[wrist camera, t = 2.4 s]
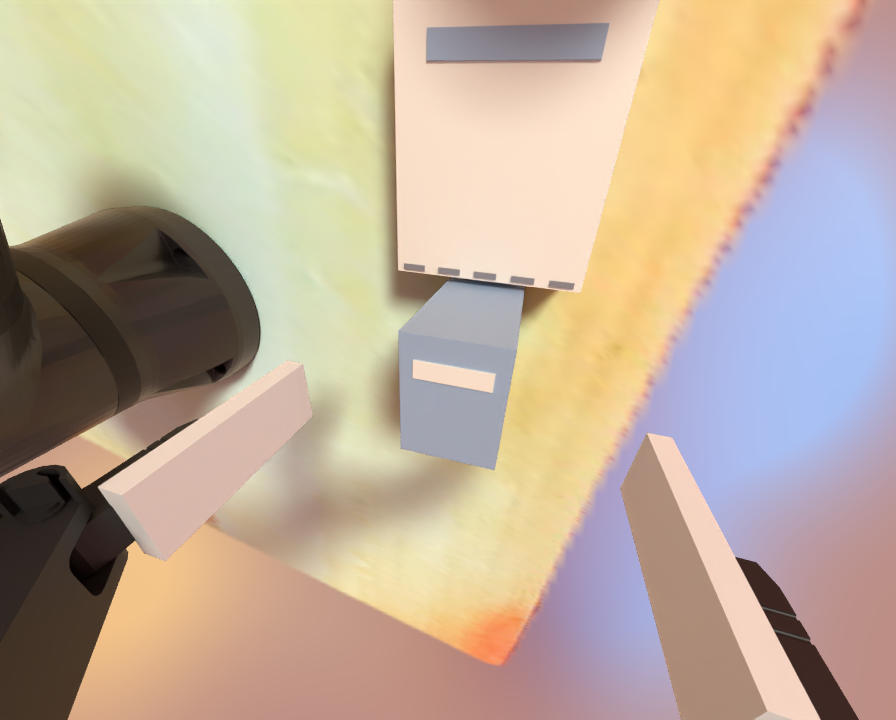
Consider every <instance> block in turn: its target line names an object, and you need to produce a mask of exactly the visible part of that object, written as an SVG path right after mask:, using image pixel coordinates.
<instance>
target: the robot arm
mask: <svg viewBox="0 0 896 720" xmlns="http://www.w3.org/2000/svg"><path fill="white" fill-rule="evenodd" d="M259 335H260V334H259V320H258V315H257V311H256V307H255V304H254V301H253V298H252V296H251V294H250V291H249V289H248V287H247V285H246V283H245V281H244V279H243V278H242V276H241V274H240V273H239V271H238V270H237V268H236V267H235V265H234V264H233V263H232V261H231V260H230V259H229V257H228V256H227V255H226V254H225V252H224V251H223V250H222V249H221V248H220V247H219V246H218V245H217V244H216V243H215V242H214V241H213V240H212V239H211V238H210V237H209V236H208V235H207V234H206V233H204V232H203V231H202V230H201V229H199V228H198V227H197V226H195V225H194V224H192V223H191V222H189V221H188V220H186V219H184V218H182V217H181V216H179V215H177V214H174V213H172V212H170V211H167V210H164V209H160V208H155V207H125V208H112V209H107V210H102V211H99V212H97V213H94V214H92V215H89V216H87V217H85V218H82V219H80V220H77V221H75V222H73V223H70V224H68V225H66V226H63V227H61V228H58V229H56V230H54V231H51V232H49V233H46V234H44V235H42V236H39V237H37V238H34V239H32V240H30V241H27V242H25V243H23V244H20V245H15V246H9V245H8V242H7V239H6V236H5V233H4V229H3V226H2V223H1V220H0V477H2V476H4V475H6V474H7V473H9V472H11V471H13V470H15V469H17V468H18V467H20V466H22V465H24V464H26V463H28V462H29V461H31V460H33V459H35V458H37V457H39V456H41V455H42V454H44V453H46V452H48V451H50V450H52V449H54V448H55V447H57V446H59V445H61V444H63V443H65V442H66V441H68V440H70V439H72V438H74V437H76V436H78V435H79V434H81V433H83V432H85V431H87V430H89V429H90V428H92V427H94V426H96V425H98V424H100V423H102V422H103V421H105V420H107V419H109V418H110V417H112V416H114V415H116V414H118V413H120V412H121V411H123V410H125V409H127V408H129V407H131V406H133V405H135V404H137V403H139V402H141V401H143V400H146V399H150V398H154V397H158V396H163V395H167V394H171V393H175V392H179V391H183V390H187V389H191V388H195V387H199V386H204V385H208V384H212V383H216V382H218V381H221V380H223V379H225V378H227V377H229V376H231V375H232V374H234V373H235V372H237V371H239V370H240V369H242V368H244V367H245V366H246V365H247V364H249V362H250V361H251V360H252V359H253V357H254V355H255V353H256V351H257V348H258V344H259ZM312 416H313V415H312V409H311V404H310V399H309V393H308V388H307V383H306V377H305V372H304V367H303V364H301V363H296V362H291V361H286V362H284V363H283V364H281V365H280V366H278V367H277V368H275V369H274V370H272V371H271V372H269V373H268V374H266V375H265V376H263V377H262V378H260V379H259V380H257V381H256V382H254V383H253V384H251V385H250V386H248V387H247V388H245V389H244V390H242V391H241V392H239V393H238V394H236V395H235V396H233V397H232V398H230V399H229V400H227V401H226V402H224V403H223V404H221V405H220V406H218V407H217V408H215V409H214V410H212V411H211V412H209V413H208V414H206V415H205V416H203V417H202V418H200V419H196V420H194V421H191V422H189V423H187V424H184V425H182V426H180V427H177V428H176V429H174V430H173V431H171V432H170V433H168V434H167V435H165V436H164V437H162V438H161V440H160V441H158V440H157V441H156V442H154V443H153V444H151V445H150V446H148V447H147V449H146V450H142V451H140V452H139V453H137V454H136V455H134V456H133V457H131V458H130V459H128V460H127V461H125V462H124V463H122V464H121V465H119V466H117V467H116V468H114V469H113V470H111V471H110V472H108V473H107V474H105V475H104V476H102V477H100V478H99V479H97V480H96V481H94V482H93V483H91V484H90V485H88V486H86V487H84V488H83V489H81V488H80V486H79V485H78V484H77V482H76V481H75V480H74V478H73V477H72V476H71V474H70V473H69V472H68V470H67V469H66V468H65V467H64V466H59V465H49V466H42V467H38V468H35V469H31V470H28V471H25V472H23V473H20V474H18V475H16V476H13V477H11V478H9V479H7V480H6V481H4V482H2V483H1V484H0V720H67V719H68V717H69V714H70V711H71V709H72V706H73V703H74V701H75V698H76V695H77V692H78V690H79V687H80V685H81V682H82V679H83V677H84V674H85V671H86V669H87V666H88V663H89V661H90V658H91V655H92V653H93V650H94V647H95V645H96V642H97V639H98V637H99V634H100V631H101V629H102V626H103V623H104V621H105V618H106V615H107V613H108V610H109V607H110V605H111V602H112V599H113V597H114V594H115V591H116V589H117V586H118V583H119V581H120V578H121V575H122V572H123V570H124V567H125V565H126V562H127V559H128V551H127V550H126V548H127V547H128V546H129V545H130V544H131V543H133V542H134V541H136V542H137V544H138V545H139V547H140V548H141V549H142V551H143V552H144V553H145V554H148V555H151V556H153V557H156V558H159V559H161V560H164V561H166V560H167V559H168V558H169V557H170V556H171V555H172V554H173V553H174V552H175V551H176V550H177V549H178V548H179V547H180V546H181V545H182V544H183V543H184V542H185V541H186V540H187V539H188V538H189V537H190V536H191V535H192V534H194V533H195V532H196V531H197V529H199V527H201V526H202V525H203V524H204V523H205V522H206V521H207V520H208V519H209V518H210V517H211V516H212V515H213V514H214V513H215V512H216V511H217V510H218V509H219V508H220V507H221V506H222V505H223V504H224V503H225V502H226V501H227V500H228V499H229V498H230V497H231V496H232V495H233V494H234V493H235V492H236V491H237V490H238V489H239V488H240V487H241V486H242V485H243V484H244V483H245V482H246V481H247V480H248V479H249V478H250V477H251V476H252V475H254V474H255V473H256V472H257V471H258V470H259V469H260V468H261V467H262V466H263V465H264V464H265V463H266V462H267V461H268V460H269V459H270V458H271V457H272V456H273V455H274V454H275V453H276V452H277V451H278V450H279V449H280V448H281V447H282V446H283V445H284V444H285V443H286V442H287V441H288V440H289V439H290V438H291V437H292V436H293V435H294V434H295V433H296V432H297V431H298V430H299V429H300V428H301V427H302V426H303V425H304V424H305V423H306V422H307V421H308V420H309V419H310V418H311V417H312ZM620 489H621V493H622V497H623V501H624V505H625V508H626V512H627V515H628V520H629V524H630V527H631V531H632V535H633V539H634V543H635V546H636V550H637V554H638V558H639V561H640V565H641V569H642V573H643V577H644V581H645V584H646V588H647V592H648V596H649V600H650V603H651V607H652V611H653V615H654V619H655V622H656V626H657V630H658V634H659V637H660V642H661V645H662V649H663V653H664V657H665V661H666V664H667V668H668V672H669V675H670V680H671V683H672V687H673V691H674V694H675V698H676V702H677V706H678V710H679V714H680V718H681V720H859V719H858V717H857V716H856V714H855V712H854V711H853V709H852V707H851V706H850V704H849V703H848V701H847V699H846V697H845V696H844V694H843V692H842V691H841V689H840V687H839V686H838V684H837V682H836V681H835V679H834V677H833V676H832V674H831V672H830V671H829V669H828V667H827V666H826V664H825V662H824V661H823V659H822V657H821V656H820V654H819V652H818V651H817V649H816V647H815V646H814V645H812V644H811V642H810V637H809V636H808V634H807V632H806V631H805V629H804V627H803V626H802V624H801V622H800V621H798V620H797V619H796V614H795V612H794V611H793V609H792V607H791V605H790V604H789V602H788V600H787V599H786V597H785V595H784V594H783V592H782V591H781V589H780V587H779V586H778V585H777V584H776V583H775V582H774V581H773V580H772V579H771V578H770V577H769V576H768V575H767V573H766V572H765V571H764V570H763V569H762V568H761V567H760V566H759V565H758V564H757V563H756V562H753V561H749V560H745V559H741V558H737V557H735V556H734V554H733V553H732V551H731V549H730V547H729V545H728V543H727V541H726V539H725V537H724V536H723V534H722V532H721V530H720V528H719V526H718V524H717V522H716V520H715V518H714V516H713V515H712V513H711V511H710V509H709V507H708V505H707V503H706V501H705V500H704V498H703V496H702V494H701V492H700V490H699V488H698V486H697V484H696V482H695V481H694V478H693V477H692V475H691V473H690V471H689V469H688V467H687V465H686V463H685V462H684V460H683V458H682V456H681V454H680V452H679V450H678V448H677V446H676V445H675V442H674V441H673V439H672V438H670V437H665V436H660V435H655V434H650V433H647V434H646V436H645V438H644V440H643V442H642V444H641V446H640V448H639V451H638V453H637V455H636V457H635V459H634V461H633V463H632V465H631V467H630V469H629V471H628V473H627V476H626V478H625V480H624V482H623V484H622V486H621V488H620Z"/></svg>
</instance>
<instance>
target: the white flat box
mask: <svg viewBox="0 0 896 720" xmlns="http://www.w3.org/2000/svg"><path fill="white" fill-rule="evenodd" d="M658 3H659V0H393V24H394V77H395V130H396V183H397V236H398V270H399V271H407V272H416V273H424V274H432V275H440V276H448V277H456V278H464V279H472V280H481V281H489V282H497V283H505V284H513V285H521V286H529V287H538V288H546V289H554V290H562V291H570V292H578V293H580V292H581V289H582V285H583V281H584V278H585V274H586V270H587V267H588V263H589V259H590V255H591V252H592V248H593V244H594V241H595V237H596V233H597V229H598V226H599V222H600V218H601V215H602V211H603V207H604V204H605V200H606V196H607V192H608V189H609V185H610V181H611V178H612V174H613V170H614V167H615V163H616V159H617V155H618V152H619V148H620V144H621V141H622V137H623V133H624V129H625V126H626V122H627V118H628V115H629V111H630V107H631V104H632V100H633V96H634V92H635V89H636V85H637V81H638V78H639V74H640V70H641V66H642V63H643V59H644V55H645V52H646V48H647V44H648V41H649V37H650V33H651V29H652V26H653V22H654V18H655V15H656V11H657V7H658Z"/></svg>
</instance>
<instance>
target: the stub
mask: <svg viewBox="0 0 896 720" xmlns="http://www.w3.org/2000/svg"><path fill="white" fill-rule="evenodd" d="M524 290H525V286H521V285H513V284H505V283H497V282H489V281H481V280H472V279H464V278H456V277H451V278H450V279H449V280H448V281H447V282H446V283H445V284H444V285H443V286H442V287H441V288H440V289H439V290H438V291H437V292H436V293H435V294H434V295H433V296H432V297H431V298H430V299H429V300H428V301H427V302H426V303H425V304H424V305H423V306H422V307H421V309H420V310H419V311H418V312H417V313H416V314H415V315H414V316H413V317H412V318H411V319H410V320H409V321H408V322H407V323H406V324H405V325H404V326H403V327H402V328H401V329H400V330H399V381H400V430H401V449H405V450H409V451H414V452H418V453H422V454H426V455H431V456H435V457H439V458H444V459H448V460H452V461H457V462H461V463H465V464H470V465H474V466H478V467H482V468H487V469H491V470H495V465H496V460H497V454H498V449H499V444H500V438H501V433H502V428H503V422H504V417H505V411H506V406H507V401H508V395H509V390H510V385H511V379H512V374H513V368H514V363H515V358H516V352H517V345H518V337H519V330H520V322H521V314H522V306H523V298H524Z"/></svg>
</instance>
